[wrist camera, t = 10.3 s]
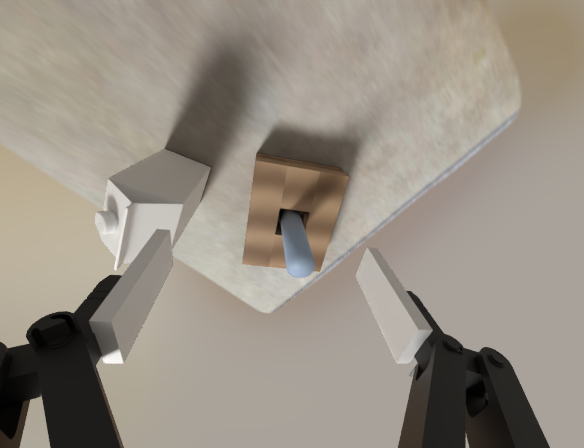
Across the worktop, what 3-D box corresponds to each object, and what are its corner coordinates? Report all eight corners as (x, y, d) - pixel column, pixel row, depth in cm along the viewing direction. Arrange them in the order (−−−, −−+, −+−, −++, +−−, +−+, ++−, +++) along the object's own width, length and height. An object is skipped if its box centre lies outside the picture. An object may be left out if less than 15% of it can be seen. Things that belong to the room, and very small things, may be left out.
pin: (281, 202, 41) (289, 253, 28) (301, 205, 42) (318, 256, 28) (277, 220, 43) (284, 276, 29) (297, 223, 43) (311, 278, 30)
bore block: (256, 152, 38) (255, 160, 33) (340, 167, 40) (349, 176, 36) (244, 248, 46) (242, 264, 41) (314, 255, 48) (319, 271, 44)
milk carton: (211, 166, 38) (170, 221, 21) (199, 204, 41) (154, 280, 24) (164, 148, 36) (78, 192, 19) (154, 189, 39) (72, 259, 22)
